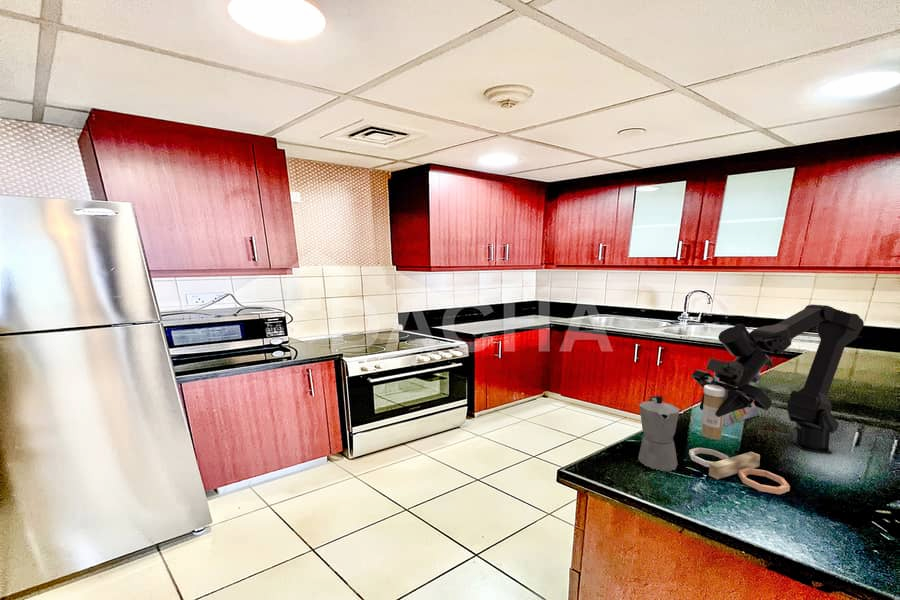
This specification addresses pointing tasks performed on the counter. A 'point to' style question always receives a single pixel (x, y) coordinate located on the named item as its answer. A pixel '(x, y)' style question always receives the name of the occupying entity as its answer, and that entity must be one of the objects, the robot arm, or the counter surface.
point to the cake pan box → (740, 413)
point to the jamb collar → (705, 451)
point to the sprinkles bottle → (712, 411)
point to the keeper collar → (764, 488)
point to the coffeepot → (658, 434)
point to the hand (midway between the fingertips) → (708, 412)
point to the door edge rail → (733, 465)
